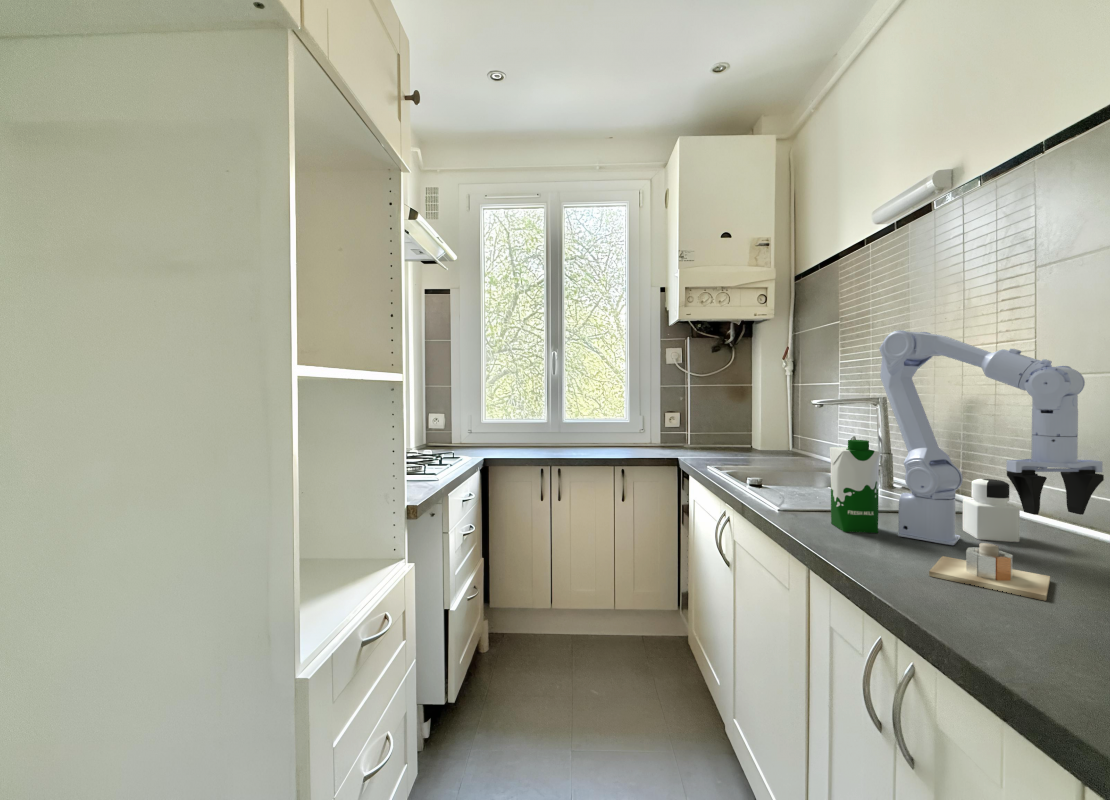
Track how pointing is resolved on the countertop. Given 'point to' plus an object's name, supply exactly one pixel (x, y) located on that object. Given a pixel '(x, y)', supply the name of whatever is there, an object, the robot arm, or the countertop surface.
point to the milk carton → (855, 487)
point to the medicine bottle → (991, 512)
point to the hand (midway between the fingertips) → (1053, 513)
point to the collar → (989, 565)
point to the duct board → (1019, 584)
